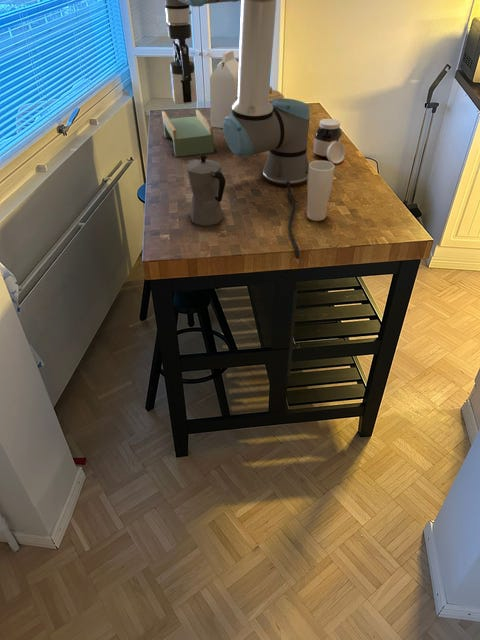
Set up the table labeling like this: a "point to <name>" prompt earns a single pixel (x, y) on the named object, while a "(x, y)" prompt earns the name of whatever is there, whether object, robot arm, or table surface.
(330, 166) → the drinking glass
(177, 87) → the jar
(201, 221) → the coffeepot
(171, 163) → the table surface
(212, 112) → the milk
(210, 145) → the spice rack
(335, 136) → the spread jar
